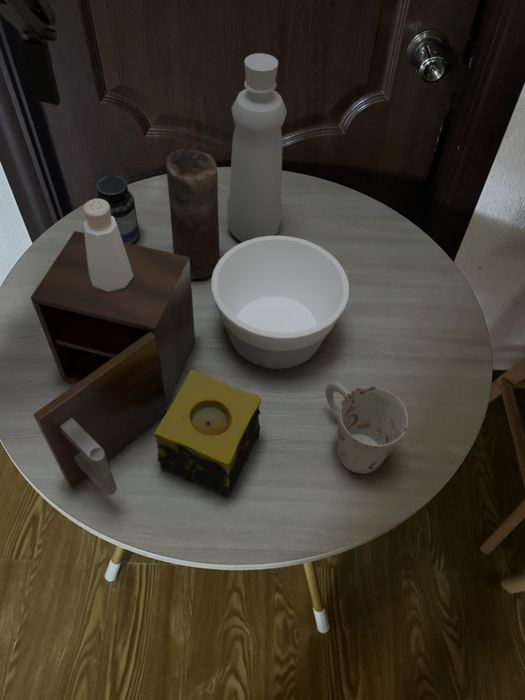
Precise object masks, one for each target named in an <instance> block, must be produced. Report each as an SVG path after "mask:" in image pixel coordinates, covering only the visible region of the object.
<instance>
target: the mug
mask: <svg viewBox="0 0 525 700" xmlns="http://www.w3.org/2000/svg"><path fill="white" fill-rule="evenodd" d="M334 392H337V393H339V394H340V395H341V396H342V397H343V399H342V401H341V403H340V405H339V407H338V406H337V405H336V402H335V399H334ZM325 398H326V400H327V403H328V405H329V407H330V409H331V411H332V413H333V415H334V416H335V417H336V418H337V419H338V421H337V447H336V448H337V449H336V450H337V457H338V459H339V461H340V463H341V464H342V466H343V467H345V468H346V469H347V470H349V471H351V472H353V473H355V474H360V475H361V474H362V475H364V474H370V473H373V472H374V471H375V470H377V469H379V467H380V465H381V464H382V463H383V462H384V461H385V460H386V458H387V457H388V456H389V455H390V453H391V452H392V451H393V450H394V449H395V448H396V446H397V445H398V444H399V442H400V441H401V440H402V439H403V437H404V436H405V434H406V432H407V430H408V426H409V415H408V412H407V408H406V406H405V405H404V403H403V401H401V399H400V398H398V396H396V395H395V394H394V393H393V392H391V391H389V390H387V389H385V388H383V387H378V386H372V385H371V386H369V385H368V386H360V387H358V388H355V389H353V390H351V391H349V389H348V390H347V388H346V387H345V386H344V385H342V384H341V383H339V382H335V381H333V382H329V383H328V384H327V385H326V387H325Z"/></svg>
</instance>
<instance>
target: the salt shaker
mask: <svg viewBox="0 0 525 700" xmlns="http://www.w3.org/2000/svg"><path fill="white" fill-rule="evenodd" d="M82 208H83V213H84V215H85V219H86V220H85V221H84V222H83V233H84V235H85V244H86V253H87V261H88V270H89V276H90V279H91V282H92V285H93V287H96V288H98V289H101V290H104V291H106V292H111V291H115V290H119V289H123V288H125V287H126V286H127V284H128V283H129V282H130V280H131V279H132V278H133V277H134V275H133V272H132V269H131V266H130V263H129V260H128V257H127V254H126V250H125V247H124V244H123V241H122V238H121V235H120V232H119V229H118V226H117V223H116V221H115V218H114V217H113V216H111V213H110V205H109V203H108V202H107V201H105V200H103V199H96V198H92V199H90V200H88V201H86V202H85V203H84V205H83V207H82Z"/></svg>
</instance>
